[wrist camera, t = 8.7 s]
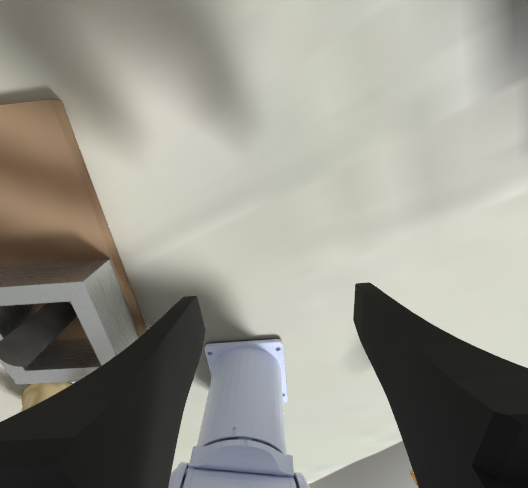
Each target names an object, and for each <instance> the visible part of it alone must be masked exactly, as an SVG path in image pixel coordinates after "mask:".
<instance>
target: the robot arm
mask: <svg viewBox="0 0 528 488" xmlns="http://www.w3.org/2000/svg"><path fill="white" fill-rule="evenodd" d="M353 320H354V323H355V326H356V329H357V332H358V335H359V338H360V341H361V343H362V345H363V347H364V350H365V352H366V354H367V356H368V358H369V360H370V362H371V364H372V366H373V368H374V370H375V373H376V375H377V377H378V379H379V381H380V383H381V385H382V387H383V389H384V391H385V394H386V396H387V398H388V401H389V403H390V406H391V409H392V412H393V414H394V417H395V420H396V422H397V425H398V428H399V431H400V434H401V436H402V439H403V442H404V445H405V448H406V451H407V454H408V456H409V460H410V463H411V466H412V469H413V472H414V475H415V478H416V481H417V484H418V487H419V488H528V368H526V367H523V366H520V365H518V364H515V363H512V362H510V361H507V360H505V359H503V358H500V357H498V356H495V355H493V354H491V353H488V352H486V351H484V350H482V349H480V348H477V347H475V346H473V345H471V344H469V343H467V342H465V341H462V340H460V339H458V338H457V337H455V336H453V335H451V334H449V333H447V332H445V331H443V330H441V329H439V328H438V327H436V326H434V325H432V324H431V323H429V322H427V321H426V320H424V319H423V318H421V317H419V316H418V315H416V314H414V313H413V312H411V311H410V310H408V309H407V308H405V307H404V306H402V305H401V304H399V303H398V302H397V301H395V300H394V299H392V298H391V297H389V296H388V295H387V294H385V293H384V292H382V291H381V290H380V289H378V288H377V287H375V286H374V285H372V284H371V283H358V284H356V285H355V302H354V319H353ZM204 335H205V327H204V323H203V319H202V315H201V311H200V307H199V303H198V299H197V296H189V297H183V298H182V299H181V300H180V301H179V302H177V303H176V304H175V305H174V306H173V307H172V308H171V309H170V310H169V311H168V312H167V313H166V314H165V315H164V316H163V317H162V318H161V319H159V320H158V321H157V322H156V323H155V324H154V325H153V326H152V327H151V328H150V329H148V330H147V331H146V332H145V333H144V334H143V335H141V336H140V337H139V338H138V339H137V340H136V341H134V342H133V343H132V344H131V345H129V346H128V347H127V348H126V349H124V350H123V351H122V352H120V353H119V354H118V355H116V356H115V357H113V358H112V359H111V360H109V361H108V362H106V363H105V364H104V365H102V366H100V367H99V368H97V369H96V370H94V371H93V372H91V373H90V374H88V375H87V376H85V377H83V378H82V379H80V380H79V381H77V382H75V383H74V384H72V385H70V386H69V387H67V388H65V389H64V390H62V391H60V392H58V393H56V394H55V395H53V396H51V397H49V398H47V399H45V400H44V401H42V402H40V403H38V404H36V405H34V406H32V407H30V408H28V409H26V410H24V411H22V412H20V413H18V414H16V415H14V416H12V417H10V418H8V419H6V420H4V421H2V422H0V488H310V486H309V485H308V484H307V482H306V480H305V478H304V476H303V475H302V474H301V473H294V470H293V457H292V455H287V454H286V441H285V424H284V408H283V403H286V402H287V401H288V397H287V386H286V375H285V364H284V353H283V342H282V341H281V340H280V339H272V340H257V341H242V342H228V343H213V344H207V345H206V346H205V348H204V350H205V354H206V358H207V362H208V366H209V369H210V373H211V377H212V379H211V384H210V388H209V393H208V397H207V402H206V407H205V411H204V416H203V421H202V425H201V430H200V434H199V439H198V444H197V446H194V447H193V450H192V455H191V459H190V464H189V463H184V462H181V463H180V464H179V465H178V467H177V468H176V469H175V470H174V471H173V472H172V473H171V470H172V464H173V459H174V454H175V449H176V444H177V438H178V434H179V429H180V424H181V420H182V415H183V411H184V407H185V403H186V400H187V397H188V393H189V390H190V387H191V384H192V381H193V378H194V374H195V371H196V368H197V365H198V362H199V358H200V355H201V352H202V347H203V342H204ZM277 347H280V348H277Z"/></svg>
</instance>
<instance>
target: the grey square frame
mask: <svg viewBox="0 0 528 488" xmlns="http://www.w3.org/2000/svg"><path fill="white" fill-rule="evenodd" d="M68 301H70V302H71V304H72V306H73V308H74V310H75V312H76V314H77V316H78V318H79V320H80V322H81V324H82V327H83V329H84V331H85V333H86V335H87V337H88V338H83V339H66V340H55V339H54V340H53V341H52V342H51V343H50V344H49V345H48V346H47V347H46V348H45V349H44V350H43V351H42V352H41V353H40V354H39V355H38V356H37V357H36V358H35V359H34V360H33V361H32V362H31V363H30V364H29V365H27V366H23V367H17V366H12V365H9V364H7V363H5V362H3V361H2V360H1V359H0V362H1V364H2V365H3V366H4V368H5V369H6V371H7V372H8V374H9V375H10V376H11V378H12V379H13V381H14V382H15V383H16V385H18V384H37V383H56V382H75V381H79V380H80V379H82V378H83V377H85V376H87V375H88V374H90V373H91V372H93V371H94V370H96V369H97V368H99V367H100V366H102V365H104V364H105V363H106V362H108V361H109V360H111V359H112V358H113V357H115V356H116V355H118V354H119V353H120V352H122V351H123V350H124V349H126V348H127V347H128V346H129V345H131V344H132V343H133V342H134V341H136V340H137V339H138V338H139V337H140V336H139V334H138V331H137V328H136V326H135V323H134V320H133V318H132V315H131V312H130V310H129V307H128V304H127V302H126V299H125V296H124V294H123V291H122V288H121V286H120V283H119V280H118V278H117V275H116V272H115V270H114V267H113V264H112V262H111V259H97V260H83V261H69V262H55V263H42V264H28V265H14V266H1V267H0V341H1V340H2V339H3V338H5V337H6V336H7V335H8V334H10V333H11V332H12V331H13V330H15V329H16V328H17V327H18V326H20V325H21V324H22V323H23V322H24V321H26V320H27V319H28V318H29V317H31V316H32V315H33V314H34V313H36V312H37V311H38V308H37V306H36V304H38V303H53V302H68Z"/></svg>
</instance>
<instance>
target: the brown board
mask: <svg viewBox="0 0 528 488" xmlns="http://www.w3.org/2000/svg"><path fill="white" fill-rule="evenodd" d="M97 259H111V262H112V264H113V267H114V270H115V272H116V275H117V278H118V280H119V283H120V286H121V288H122V291H123V294H124V296H125V299H126V302H127V304H128V307H129V310H130V312H131V315H132V318H133V320H134V323H135V326H136V328H137V331H138V334H139V336H141V335H143V334H144V333H145V332H146V331H147V329H146V326H145V324H144V321H143V318H142V316H141V313H140V310H139V308H138V305H137V302H136V300H135V297H134V294H133V292H132V289H131V286H130V283H129V281H128V278H127V275H126V273H125V270H124V267H123V265H122V262H121V259H120V257H119V254H118V251H117V249H116V246H115V243H114V241H113V238H112V235H111V232H110V230H109V227H108V224H107V222H106V219H105V216H104V214H103V211H102V208H101V206H100V203H99V200H98V198H97V195H96V192H95V190H94V187H93V184H92V182H91V179H90V176H89V173H88V171H87V168H86V165H85V163H84V160H83V157H82V155H81V152H80V149H79V147H78V144H77V141H76V139H75V136H74V133H73V131H72V128H71V125H70V122H69V120H68V117H67V114H66V112H65V109H64V106H63V104H62V101H61V100H53V99H47V100H39V101H30V102H22V103H13V104H5V105H0V267H1V266H14V265H28V264H42V263H55V262H69V261H83V260H97ZM36 306H37V308H38V311H37V312H36V313H34V314H33V315H32V316H31V317H29V318H28V319H27V320H26V321H24V322H23V323H22V324H21V325H20V326H18V327H17V328H16V329H15V330H13V331H12V332H11V333H10V334H8V335H7V336H6V337H5V338H3V339H2V340H1V341H0V359H1V360H2V361H3V362H5V363H7V364H9V365H12V366H17V367H23V366H27V365H29V364H30V363H31V362H32V361H33V360H34V359H35V358H36V357H37V356H38V355H39V354H40V353H41V352H42V351H43V350H44V349H45V348H46V347H47V346H48V345H49V344H50V343H51V342H52V341H53V340H54V339H55V340H66V339H83V338H88V337H87V335H86V333H85V331H84V329H83V327H82V324H81V322H80V320H79V318H78V316H77V314H76V312H75V310H74V308H73V306H72V304H71V302H70V301H68V302H53V303H38V304H36Z"/></svg>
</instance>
